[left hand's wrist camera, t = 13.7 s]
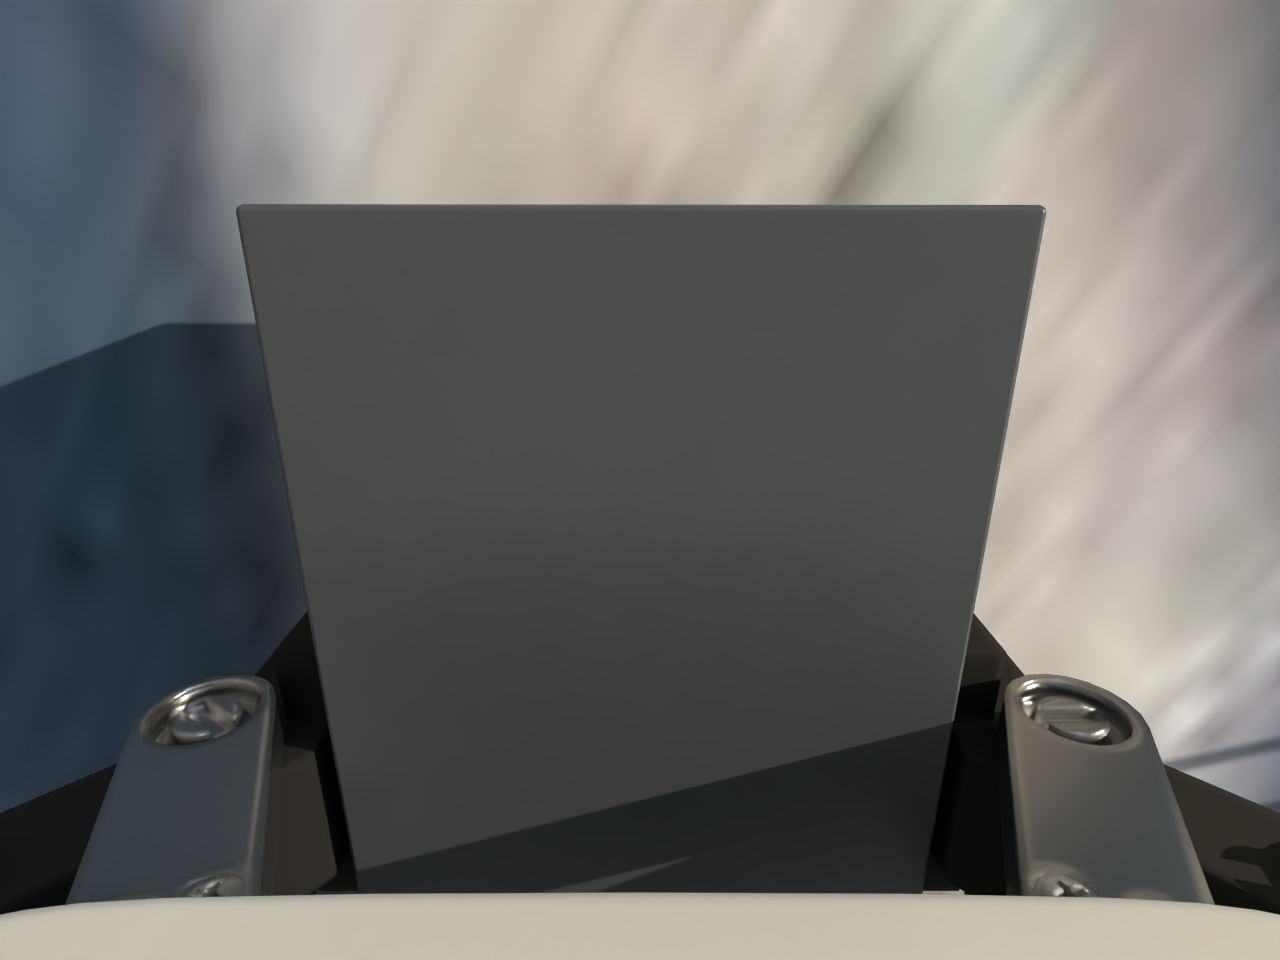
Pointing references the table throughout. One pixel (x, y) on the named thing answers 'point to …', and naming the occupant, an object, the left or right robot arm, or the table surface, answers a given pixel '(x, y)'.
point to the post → (640, 528)
